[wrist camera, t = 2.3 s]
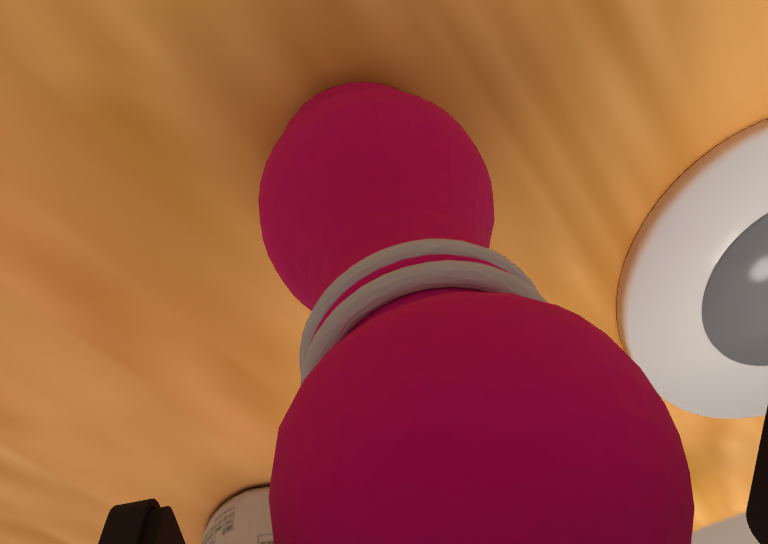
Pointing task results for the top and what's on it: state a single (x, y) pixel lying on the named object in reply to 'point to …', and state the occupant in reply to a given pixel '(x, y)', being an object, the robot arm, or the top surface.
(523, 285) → the pepper mill
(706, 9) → the top surface
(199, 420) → the top surface
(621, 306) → the mount plate
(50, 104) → the top surface
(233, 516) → the spray can
